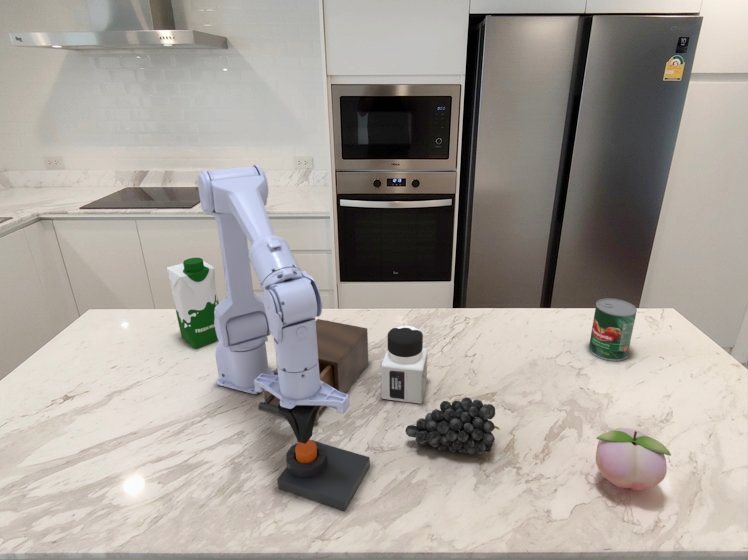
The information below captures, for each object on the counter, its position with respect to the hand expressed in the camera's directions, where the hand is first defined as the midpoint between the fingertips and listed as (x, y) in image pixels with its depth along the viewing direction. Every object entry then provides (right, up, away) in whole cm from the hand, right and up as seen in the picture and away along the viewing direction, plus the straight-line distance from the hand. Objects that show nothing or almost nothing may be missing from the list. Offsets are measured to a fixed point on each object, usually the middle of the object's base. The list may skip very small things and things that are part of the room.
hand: (305, 438), depth 72 cm
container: (+16, +2, +22) cm, 27 cm away
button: (0, -3, +1) cm, 3 cm away
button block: (+3, -6, +1) cm, 7 cm away
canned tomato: (+61, +7, +33) cm, 70 cm away
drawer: (-3, +1, +17) cm, 17 cm away
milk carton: (-31, +9, +41) cm, 52 cm away
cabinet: (+1, +4, +26) cm, 26 cm away
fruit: (+23, -4, +8) cm, 25 cm away
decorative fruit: (+47, -7, 0) cm, 48 cm away
